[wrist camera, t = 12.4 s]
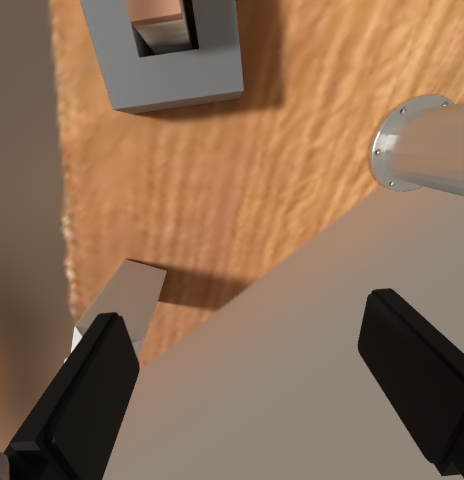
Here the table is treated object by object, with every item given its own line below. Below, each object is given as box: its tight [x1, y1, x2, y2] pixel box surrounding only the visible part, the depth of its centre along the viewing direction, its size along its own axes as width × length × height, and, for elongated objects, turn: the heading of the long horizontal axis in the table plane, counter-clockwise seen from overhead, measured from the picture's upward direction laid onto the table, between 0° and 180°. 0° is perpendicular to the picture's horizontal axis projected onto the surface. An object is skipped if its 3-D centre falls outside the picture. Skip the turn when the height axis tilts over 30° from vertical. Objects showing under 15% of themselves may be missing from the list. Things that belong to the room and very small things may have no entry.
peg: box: [125, 0, 193, 55], centre depth 22 cm, size 4×4×11 cm
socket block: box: [80, 0, 244, 114], centre depth 24 cm, size 14×14×6 cm
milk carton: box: [64, 259, 167, 363], centre depth 32 cm, size 7×7×19 cm
